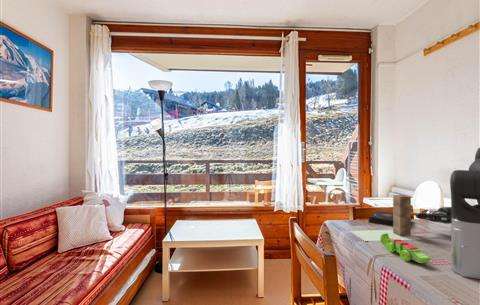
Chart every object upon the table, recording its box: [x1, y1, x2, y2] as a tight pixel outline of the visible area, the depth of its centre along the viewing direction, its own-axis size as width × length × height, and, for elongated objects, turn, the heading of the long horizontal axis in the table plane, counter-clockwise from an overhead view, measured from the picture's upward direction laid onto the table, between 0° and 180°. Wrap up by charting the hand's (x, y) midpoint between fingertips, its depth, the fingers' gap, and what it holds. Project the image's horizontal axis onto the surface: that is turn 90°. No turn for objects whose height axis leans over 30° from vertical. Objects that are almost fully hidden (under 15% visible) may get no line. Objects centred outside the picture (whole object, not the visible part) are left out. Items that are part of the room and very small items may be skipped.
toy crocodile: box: [380, 233, 431, 264], centre depth 99 cm, size 20×7×6 cm, turn 9°
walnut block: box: [392, 194, 412, 236], centre depth 122 cm, size 5×5×18 cm
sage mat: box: [349, 229, 423, 242], centre depth 121 cm, size 26×14×1 cm, turn 93°
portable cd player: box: [368, 210, 393, 227], centre depth 143 cm, size 16×17×4 cm
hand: (417, 215), depth 122 cm, fingers closed
